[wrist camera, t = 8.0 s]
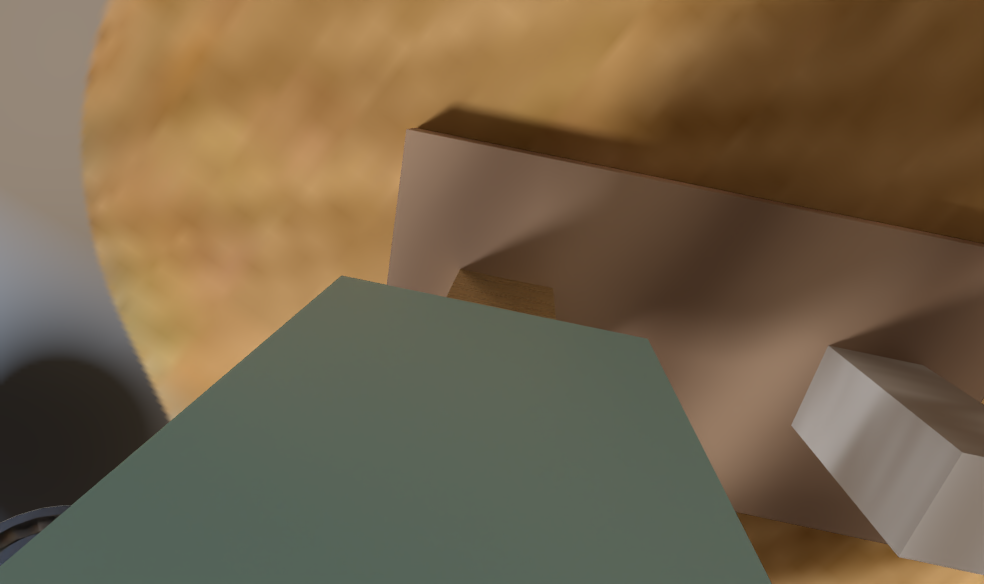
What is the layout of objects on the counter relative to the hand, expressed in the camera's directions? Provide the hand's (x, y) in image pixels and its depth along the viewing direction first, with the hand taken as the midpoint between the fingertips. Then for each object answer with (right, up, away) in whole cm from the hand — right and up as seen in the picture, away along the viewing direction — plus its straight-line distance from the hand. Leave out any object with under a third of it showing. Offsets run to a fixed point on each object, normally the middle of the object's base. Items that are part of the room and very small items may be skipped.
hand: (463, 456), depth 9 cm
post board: (+6, +1, +7) cm, 10 cm away
